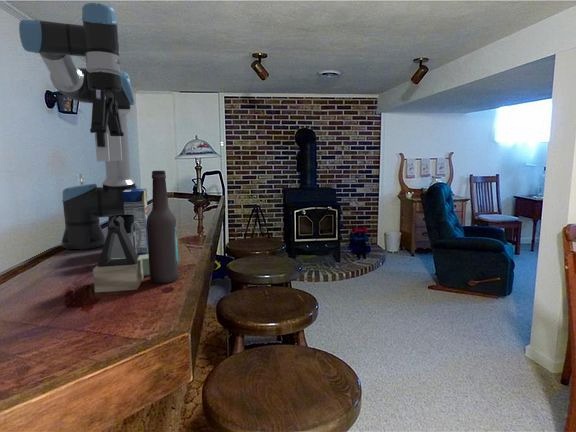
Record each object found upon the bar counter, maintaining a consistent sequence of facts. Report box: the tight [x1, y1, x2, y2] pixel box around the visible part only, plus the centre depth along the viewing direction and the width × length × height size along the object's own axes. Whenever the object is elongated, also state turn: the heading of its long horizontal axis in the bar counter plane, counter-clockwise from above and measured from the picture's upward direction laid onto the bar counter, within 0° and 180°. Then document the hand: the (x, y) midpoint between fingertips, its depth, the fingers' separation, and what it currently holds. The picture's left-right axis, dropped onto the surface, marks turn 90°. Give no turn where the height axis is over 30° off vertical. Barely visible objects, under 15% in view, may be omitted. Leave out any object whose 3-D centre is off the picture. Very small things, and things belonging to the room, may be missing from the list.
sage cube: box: [138, 253, 150, 277], centre depth 113 cm, size 5×5×5 cm
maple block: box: [92, 256, 144, 293], centre depth 102 cm, size 10×10×6 cm
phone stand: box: [97, 216, 139, 267], centre depth 101 cm, size 9×6×12 cm, turn 103°
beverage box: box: [122, 188, 149, 255], centre depth 138 cm, size 7×11×22 cm, turn 16°
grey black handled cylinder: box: [107, 214, 141, 259], centre depth 122 cm, size 9×14×15 cm, turn 55°
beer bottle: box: [147, 170, 179, 284], centre depth 104 cm, size 8×8×30 cm
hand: (110, 161), depth 98 cm, fingers open, 13 cm apart
